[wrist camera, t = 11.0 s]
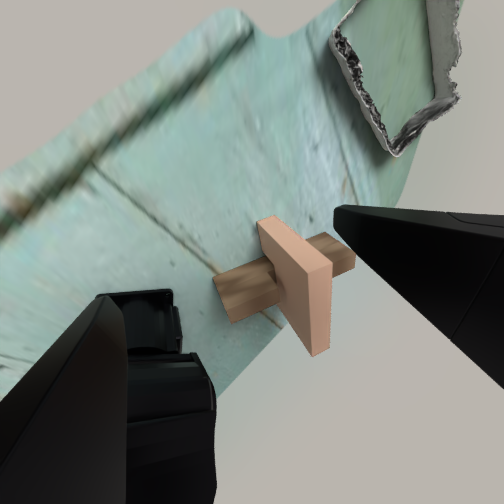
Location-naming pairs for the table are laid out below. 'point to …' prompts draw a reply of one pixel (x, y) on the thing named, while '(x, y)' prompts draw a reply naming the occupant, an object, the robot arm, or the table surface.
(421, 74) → the table surface
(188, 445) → the robot arm
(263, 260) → the cross rail
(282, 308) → the crosspiece
